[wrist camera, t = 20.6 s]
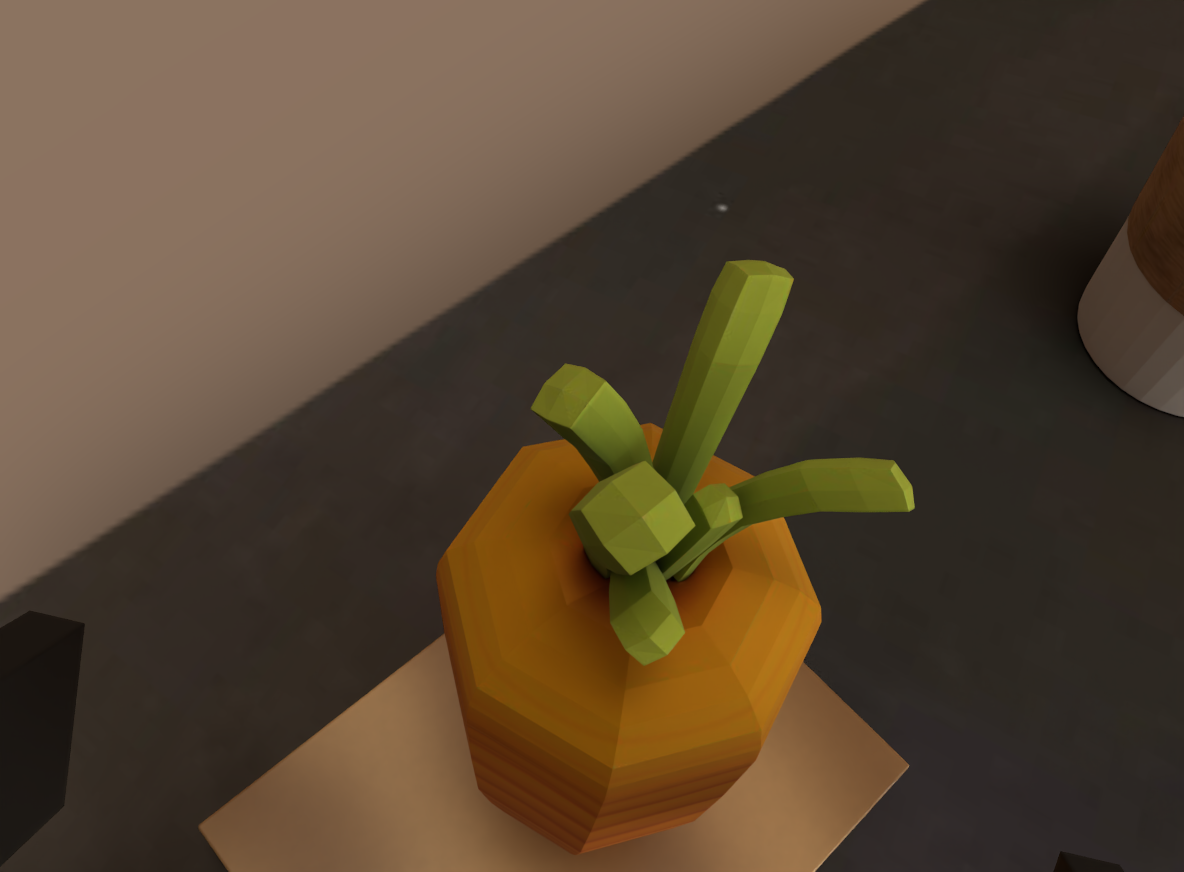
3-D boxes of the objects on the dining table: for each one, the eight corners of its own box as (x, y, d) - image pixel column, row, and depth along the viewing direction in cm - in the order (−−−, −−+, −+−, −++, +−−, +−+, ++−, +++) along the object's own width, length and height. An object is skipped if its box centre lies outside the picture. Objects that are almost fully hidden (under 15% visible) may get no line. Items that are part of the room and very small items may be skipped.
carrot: (592, 638, 24) (715, 108, 11) (738, 819, 22) (1085, 431, 9) (405, 770, 22) (298, 310, 9) (547, 983, 20) (657, 771, 7)
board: (485, 1229, 19) (485, 1239, 18) (212, 841, 22) (195, 826, 21) (888, 782, 24) (911, 765, 23) (620, 518, 27) (627, 489, 26)
